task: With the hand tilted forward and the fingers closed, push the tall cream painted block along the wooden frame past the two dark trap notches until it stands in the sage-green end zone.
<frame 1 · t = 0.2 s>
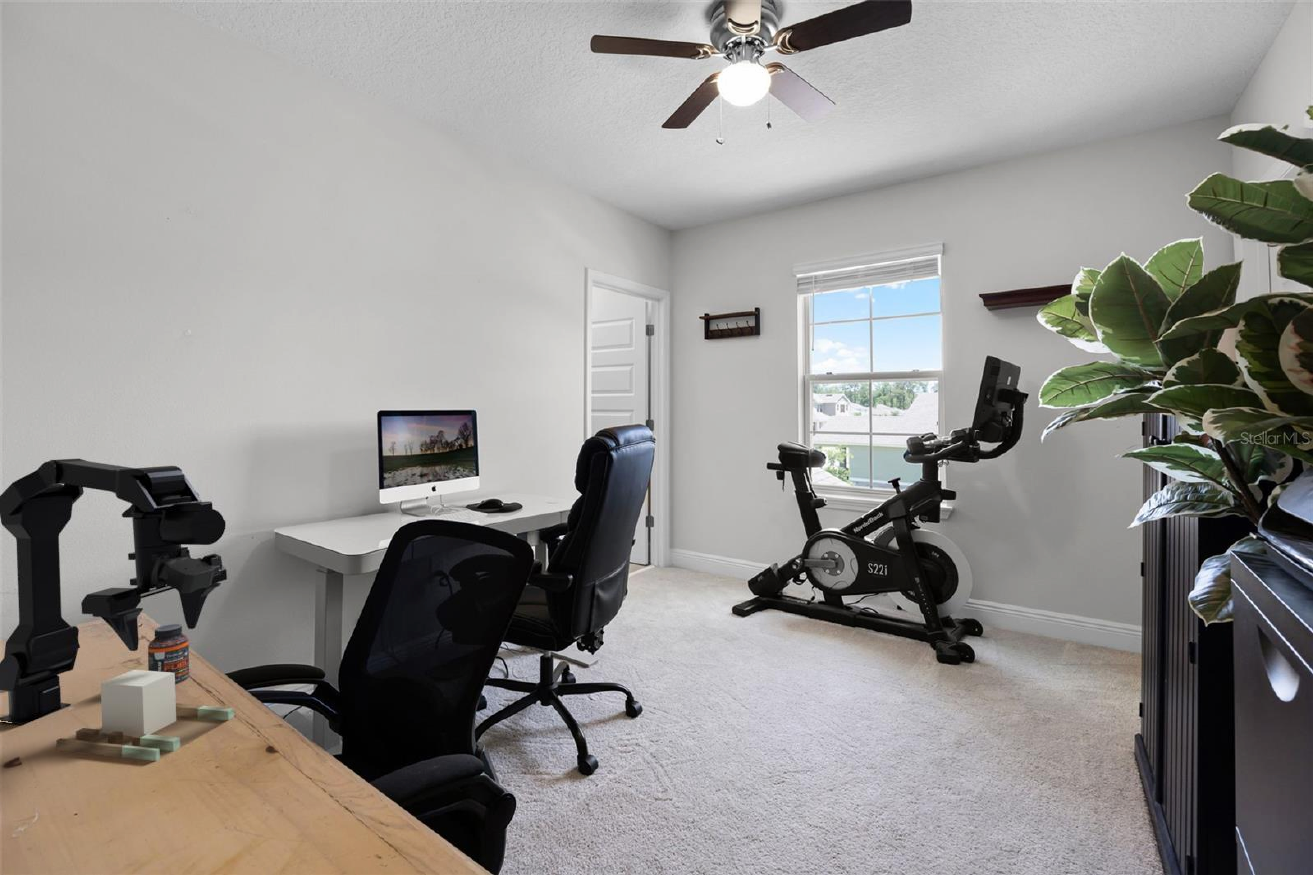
hand: (164, 639, 93), 15 cm above the table, tool pointing down, fingers open, 9 cm apart
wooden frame: (151, 738, 91), on the table
supplement bottle: (169, 686, 109), on the table
block: (140, 726, 92), point 1 cm above the table, touching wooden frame
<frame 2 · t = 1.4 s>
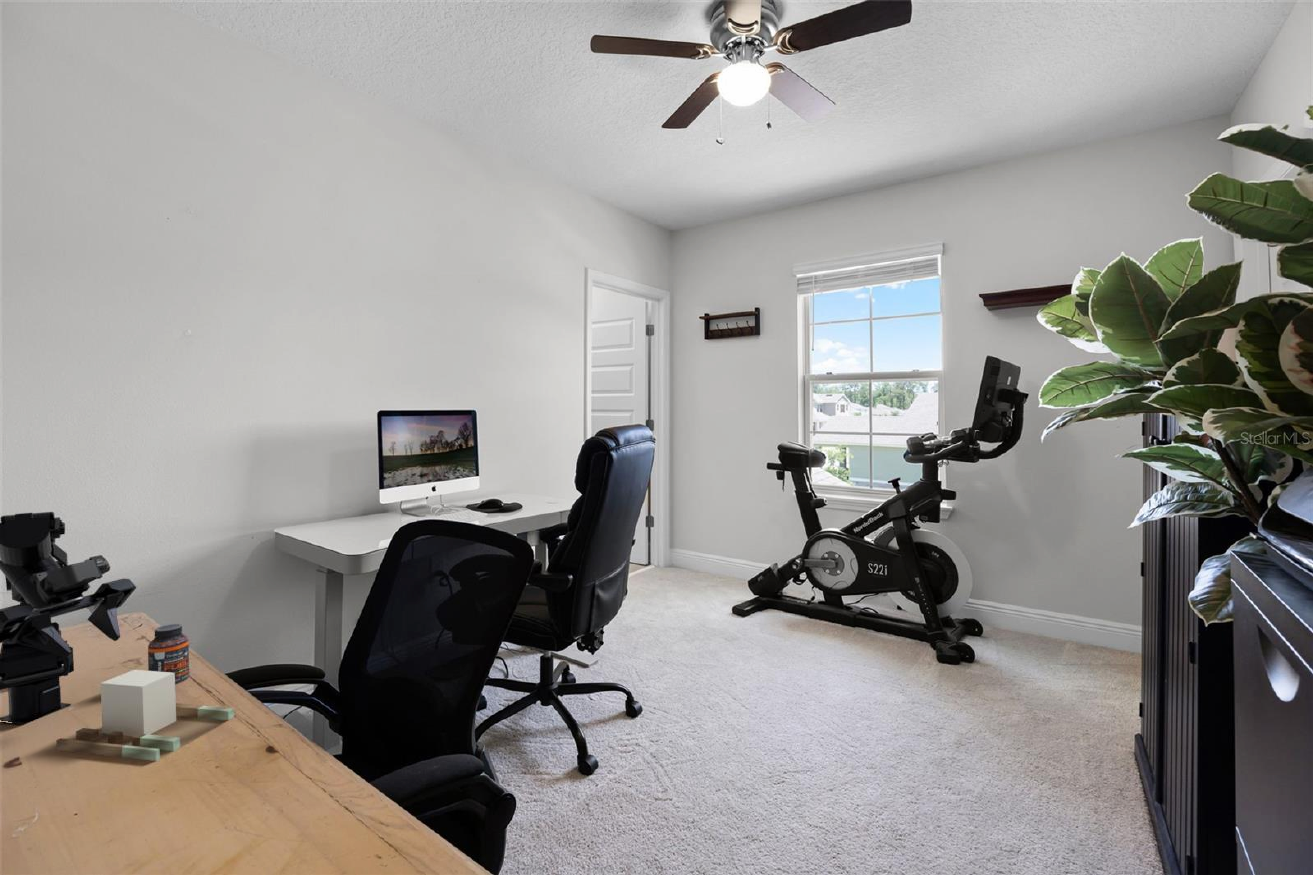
hand: (94, 647, 94), 14 cm above the table, tool tilted 45°, fingers open, 7 cm apart
nothing on the table moved.
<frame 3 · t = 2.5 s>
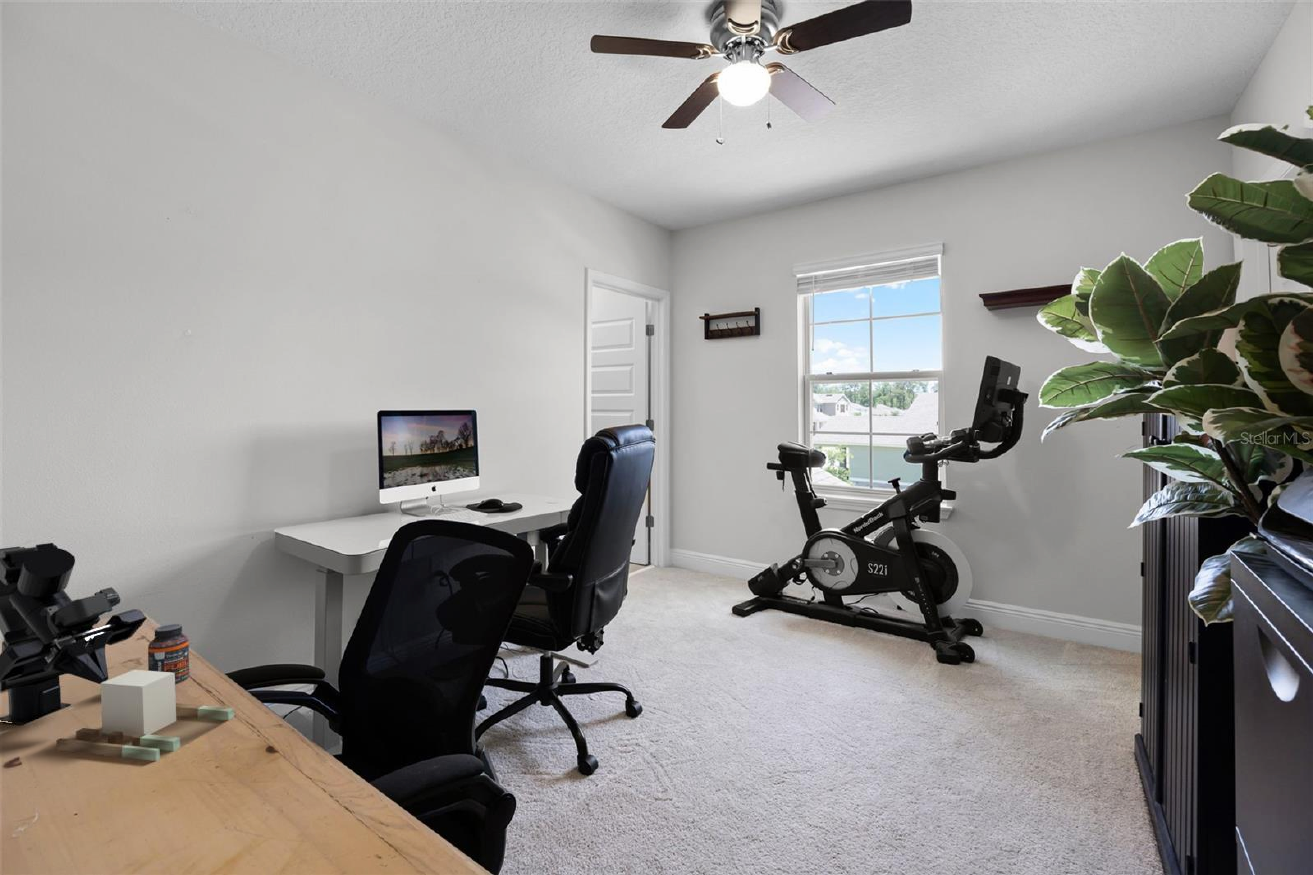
hand: (104, 681, 93), 8 cm above the table, tool tilted 45°, fingers closed
nothing on the table moved.
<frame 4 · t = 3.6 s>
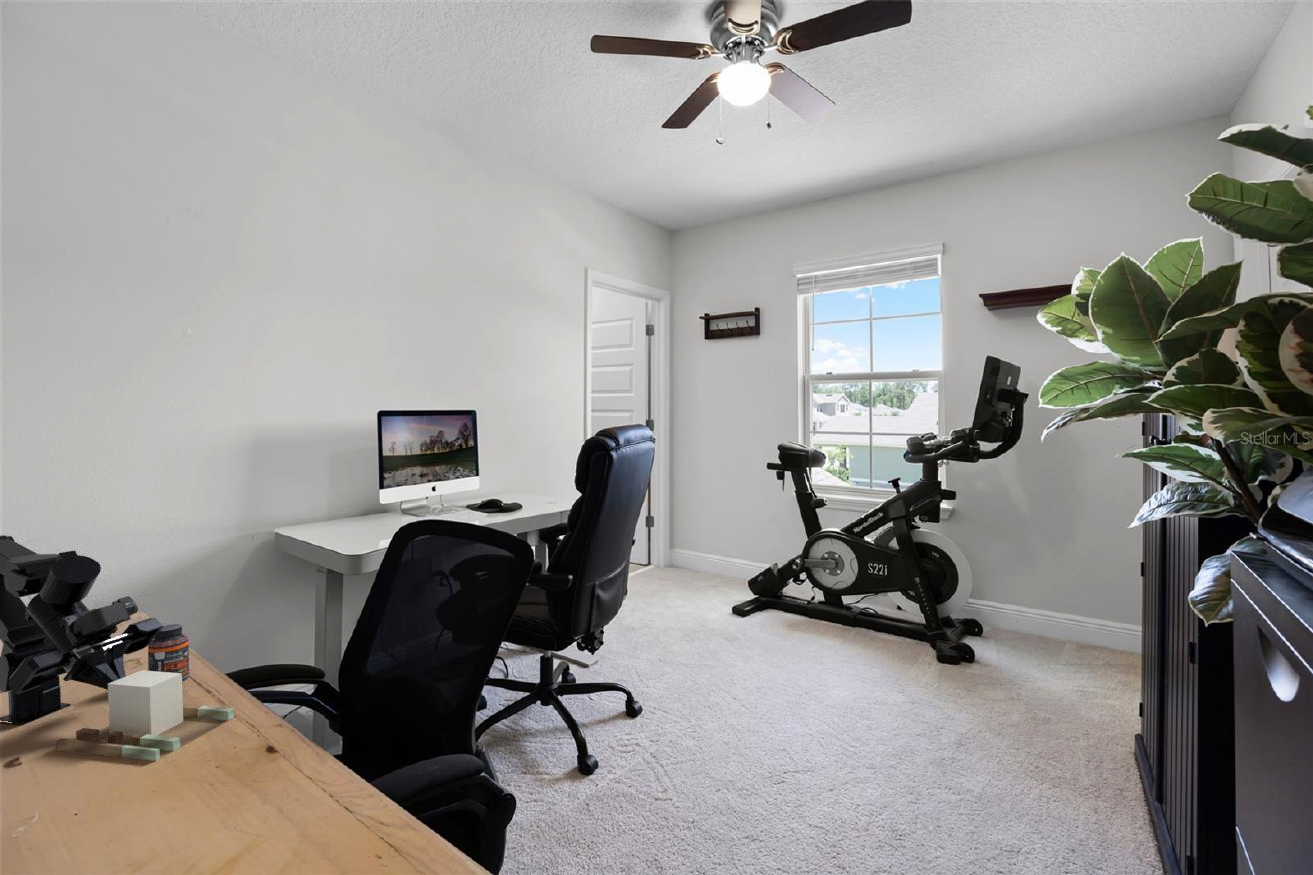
hand: (123, 690, 93), 7 cm above the table, tool tilted 45°, fingers closed
block: (147, 727, 92), point 1 cm above the table, touching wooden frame
everything else where it was.
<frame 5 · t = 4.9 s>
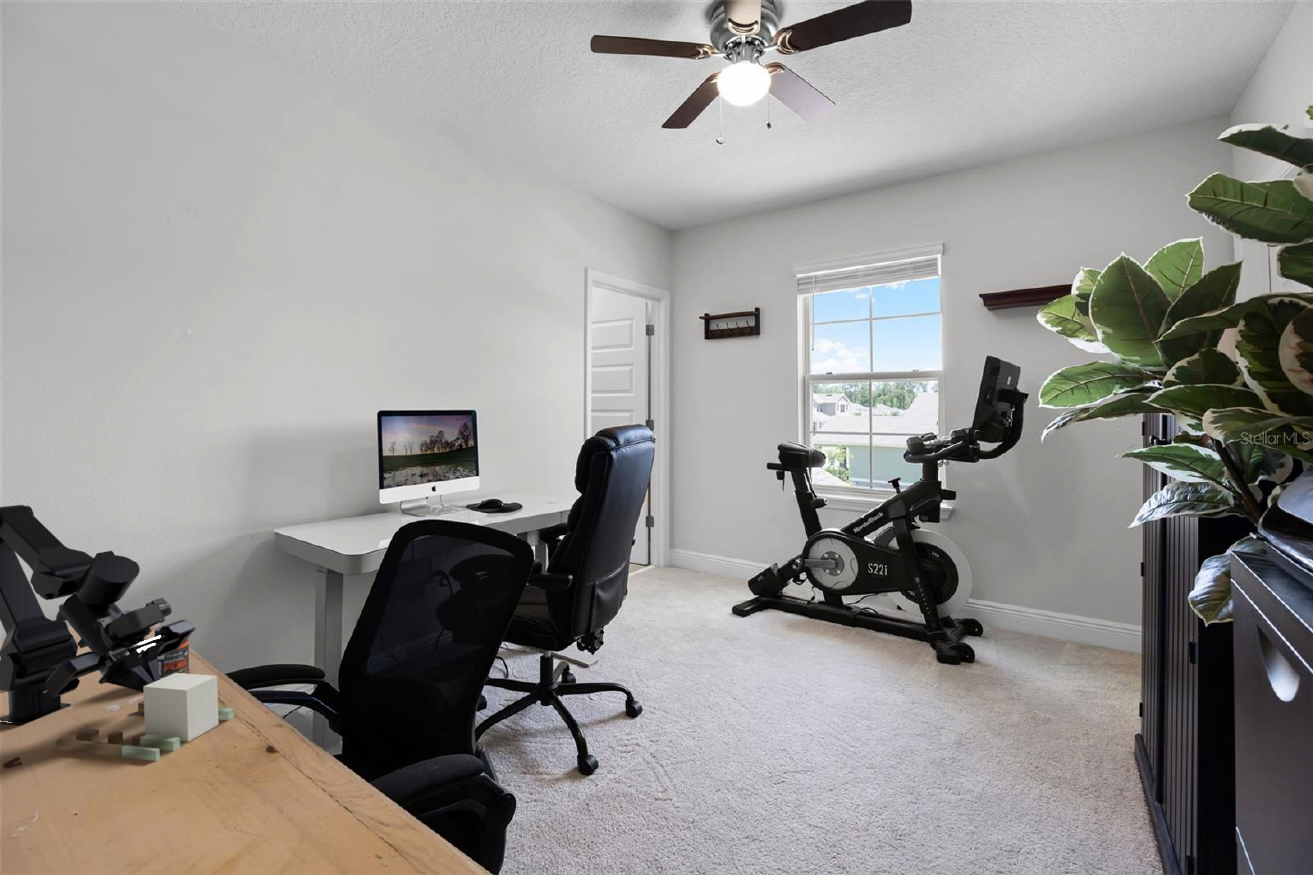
hand: (158, 693, 92), 7 cm above the table, tool tilted 45°, fingers closed
block: (182, 731, 91), point 1 cm above the table
everything else where it was.
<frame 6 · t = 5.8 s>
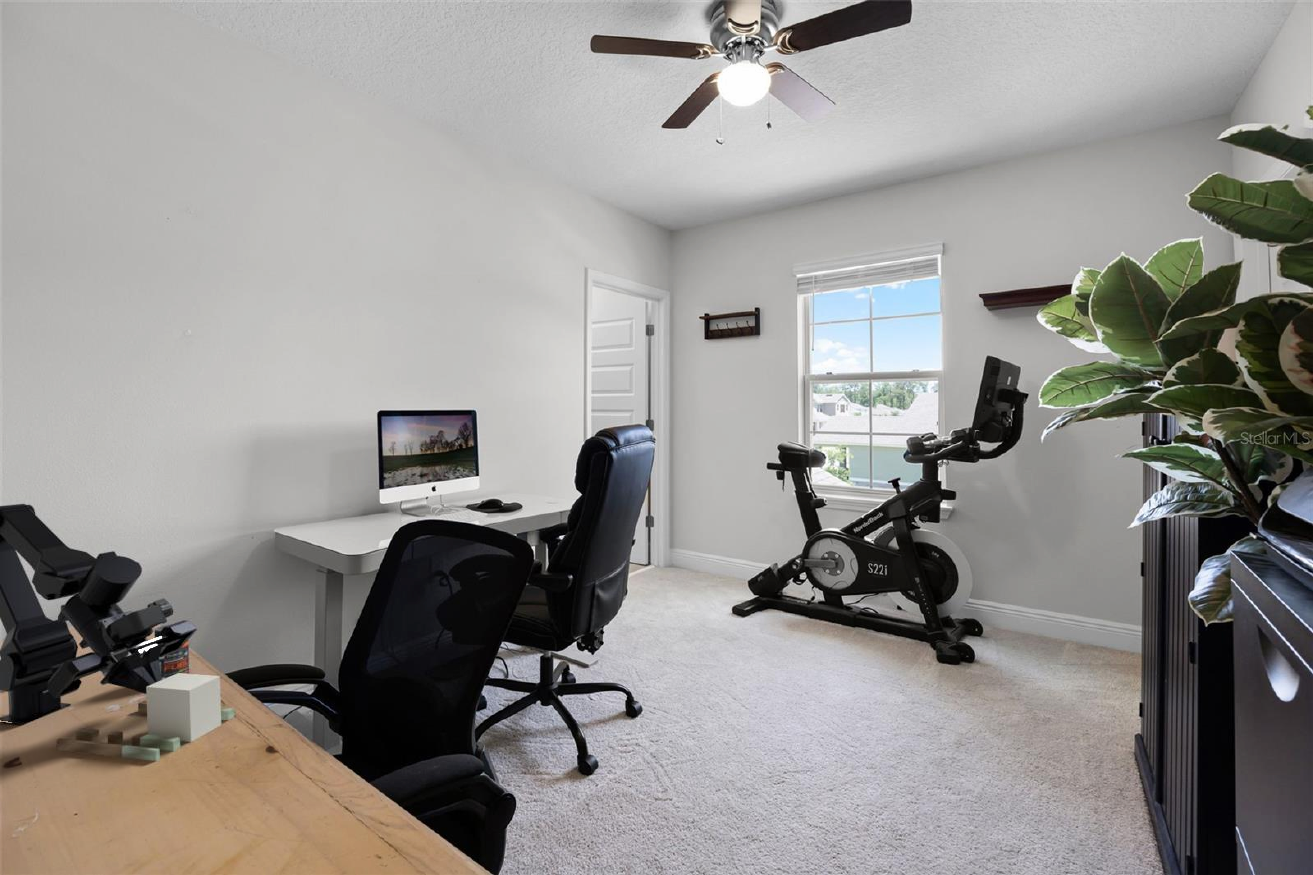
hand: (160, 694, 92), 7 cm above the table, tool tilted 45°, fingers closed
block: (185, 731, 91), point 1 cm above the table, touching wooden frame
everything else where it was.
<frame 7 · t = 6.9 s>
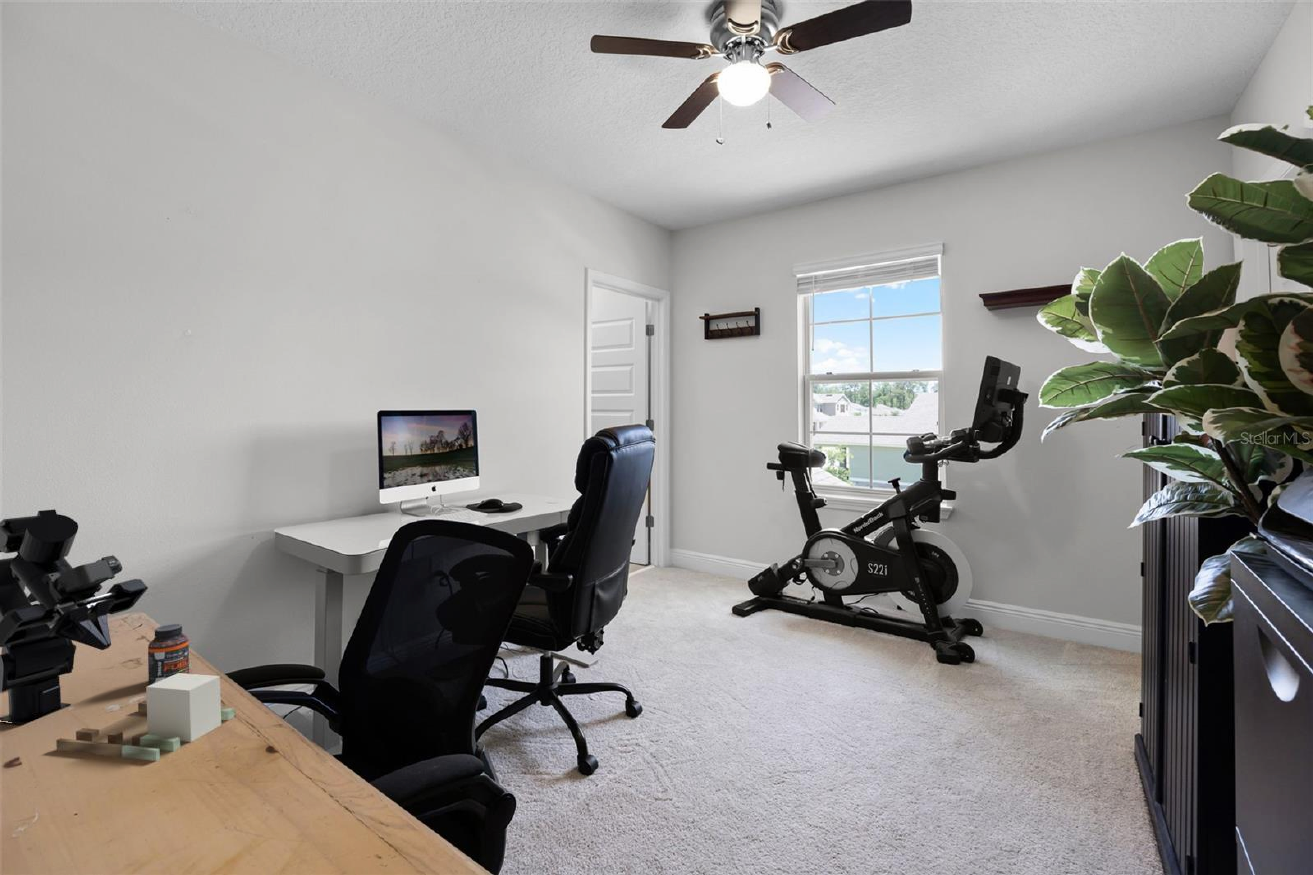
hand: (107, 647, 93), 14 cm above the table, tool tilted 45°, fingers closed
nothing on the table moved.
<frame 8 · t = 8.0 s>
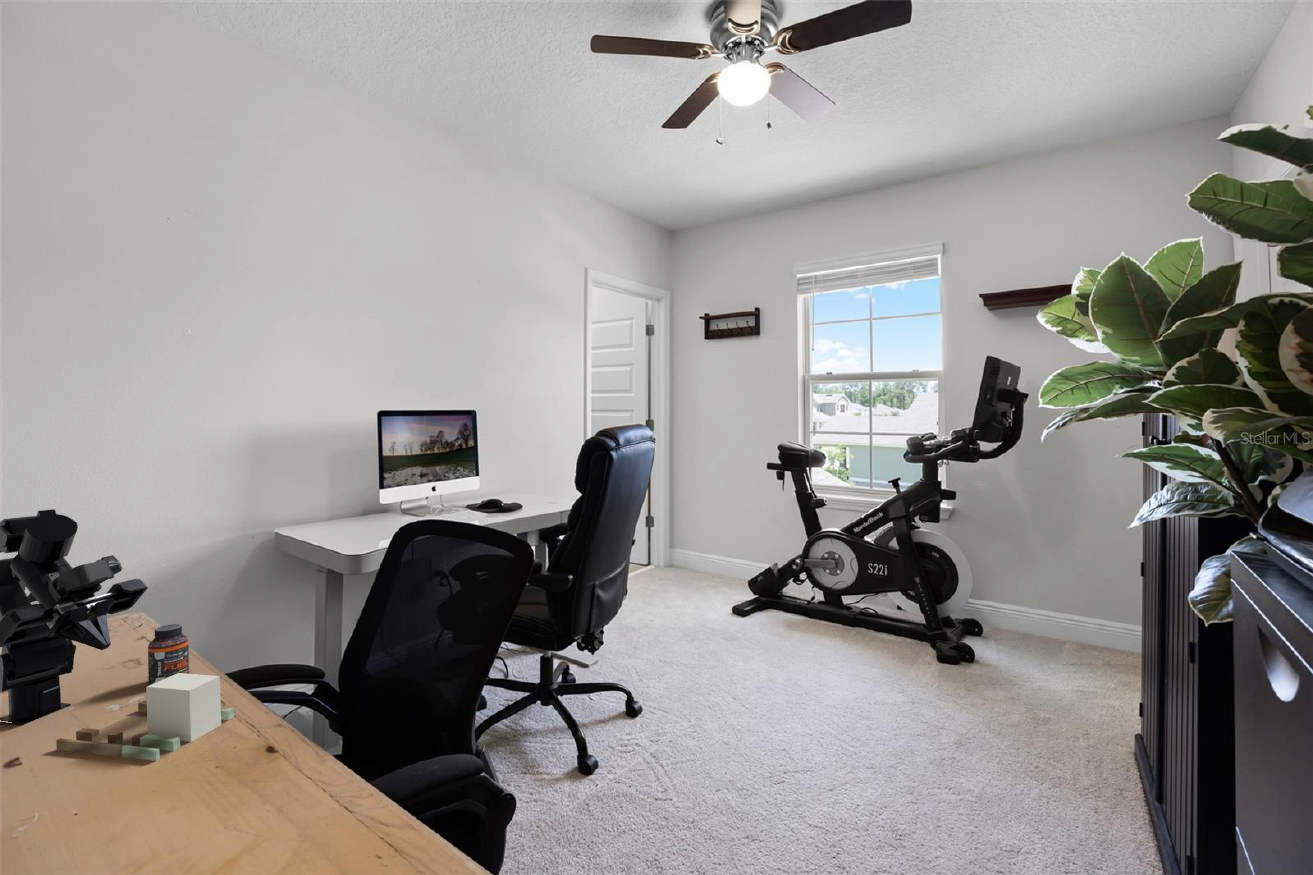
hand: (106, 647, 93), 14 cm above the table, tool tilted 45°, fingers closed
nothing on the table moved.
at the end: block inside the target area (1.0 cm from its centre), point 1.0 cm above the table; block tilted 0° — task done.
